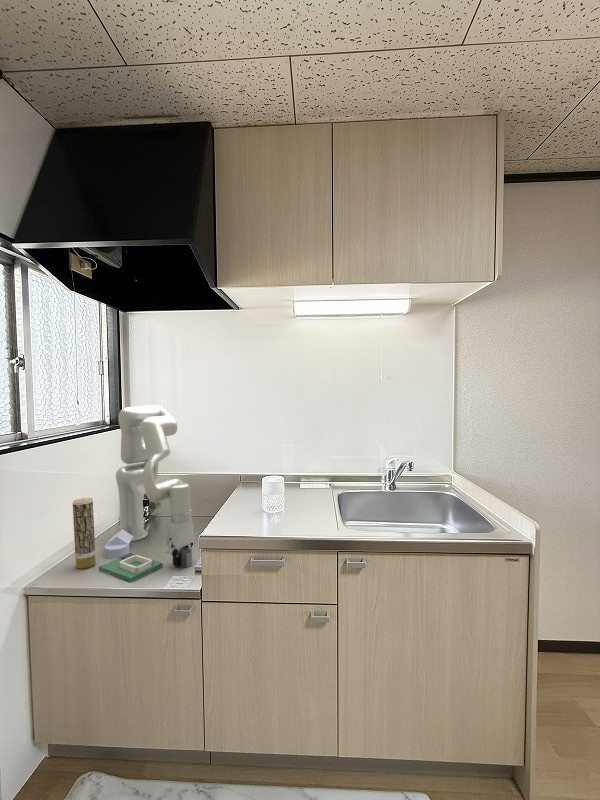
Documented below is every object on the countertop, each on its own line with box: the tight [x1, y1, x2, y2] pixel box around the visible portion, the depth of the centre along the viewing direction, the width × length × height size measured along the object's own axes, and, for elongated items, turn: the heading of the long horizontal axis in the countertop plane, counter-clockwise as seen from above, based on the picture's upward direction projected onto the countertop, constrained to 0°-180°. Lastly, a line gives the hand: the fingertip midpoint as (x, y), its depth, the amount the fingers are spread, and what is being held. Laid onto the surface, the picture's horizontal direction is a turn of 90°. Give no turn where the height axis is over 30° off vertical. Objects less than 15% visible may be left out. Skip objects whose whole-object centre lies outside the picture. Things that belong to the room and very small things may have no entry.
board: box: [98, 552, 163, 583], centre depth 168 cm, size 18×14×4 cm
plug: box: [171, 547, 193, 569], centre depth 171 cm, size 7×4×6 cm, turn 58°
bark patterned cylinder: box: [72, 497, 97, 570], centre depth 170 cm, size 7×7×25 cm
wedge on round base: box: [104, 529, 133, 559], centre depth 184 cm, size 9×7×13 cm
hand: (182, 563), depth 171 cm, fingers closed on plug, 3 cm apart
